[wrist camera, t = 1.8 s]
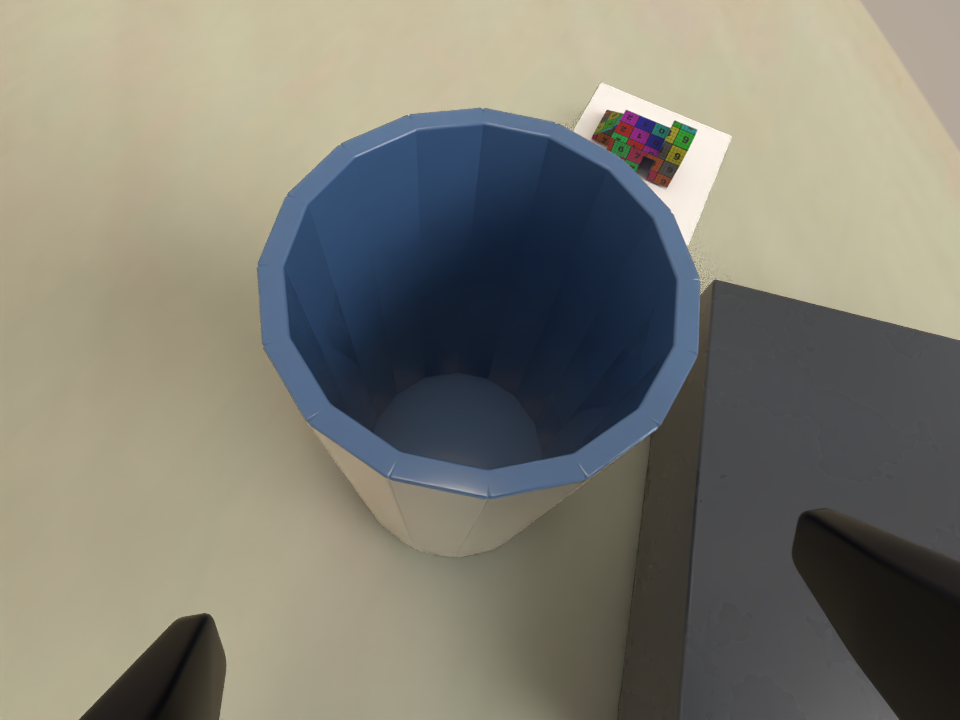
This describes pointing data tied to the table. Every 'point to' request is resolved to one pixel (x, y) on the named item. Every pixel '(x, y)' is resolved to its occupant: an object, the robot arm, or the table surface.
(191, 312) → the table surface
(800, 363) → the grey base
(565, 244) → the cup
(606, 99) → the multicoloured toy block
